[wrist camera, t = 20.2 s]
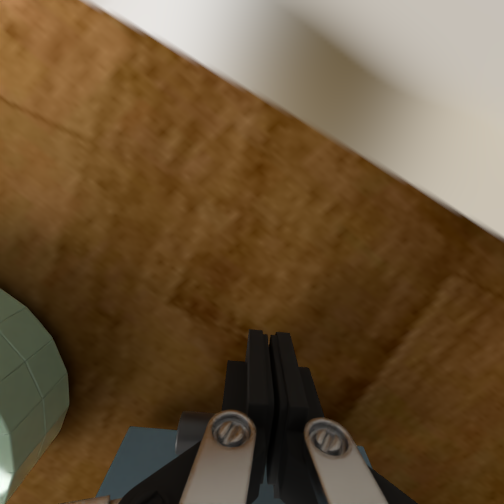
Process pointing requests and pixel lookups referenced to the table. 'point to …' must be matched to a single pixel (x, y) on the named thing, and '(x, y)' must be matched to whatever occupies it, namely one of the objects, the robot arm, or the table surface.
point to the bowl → (27, 393)
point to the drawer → (165, 455)
